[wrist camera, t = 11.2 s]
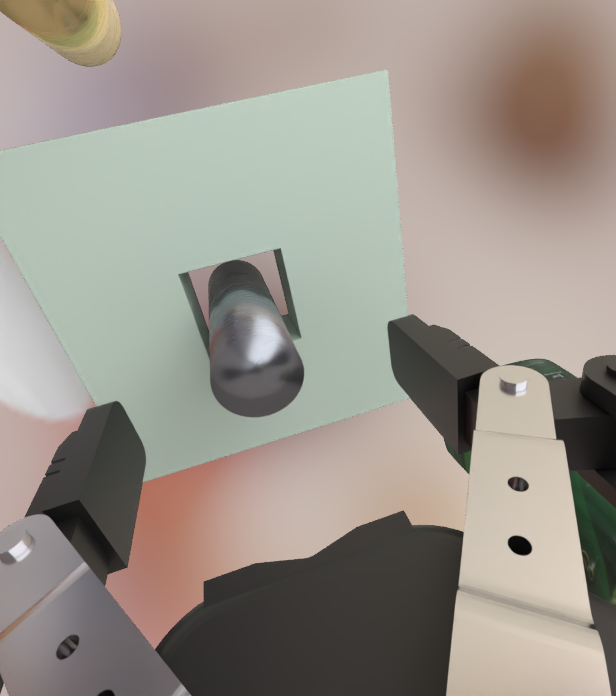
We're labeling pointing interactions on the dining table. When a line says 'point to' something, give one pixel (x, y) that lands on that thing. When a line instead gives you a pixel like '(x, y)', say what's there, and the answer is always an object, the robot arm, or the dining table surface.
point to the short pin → (70, 26)
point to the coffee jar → (580, 509)
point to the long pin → (249, 344)
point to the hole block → (217, 255)
